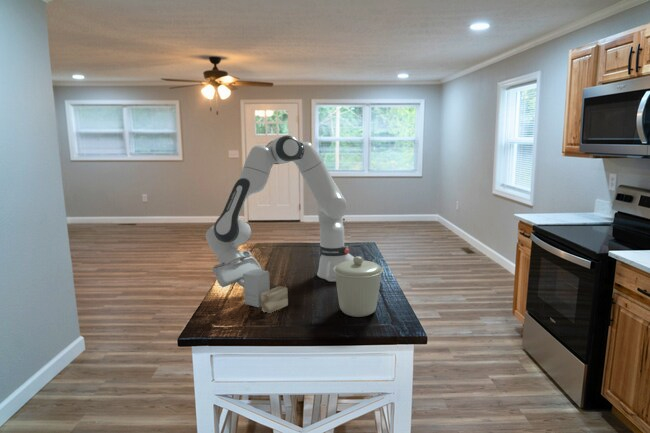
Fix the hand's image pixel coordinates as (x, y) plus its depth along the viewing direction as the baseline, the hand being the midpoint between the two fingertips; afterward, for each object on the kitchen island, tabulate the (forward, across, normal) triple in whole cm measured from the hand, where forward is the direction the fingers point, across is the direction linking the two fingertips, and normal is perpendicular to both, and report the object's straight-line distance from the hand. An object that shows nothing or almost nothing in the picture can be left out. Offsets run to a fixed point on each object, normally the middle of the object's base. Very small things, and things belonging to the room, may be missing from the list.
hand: (249, 288), depth 169 cm
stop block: (+13, 0, -6) cm, 15 cm away
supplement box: (+7, 0, 0) cm, 7 cm away
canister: (+33, +16, -25) cm, 44 cm away
